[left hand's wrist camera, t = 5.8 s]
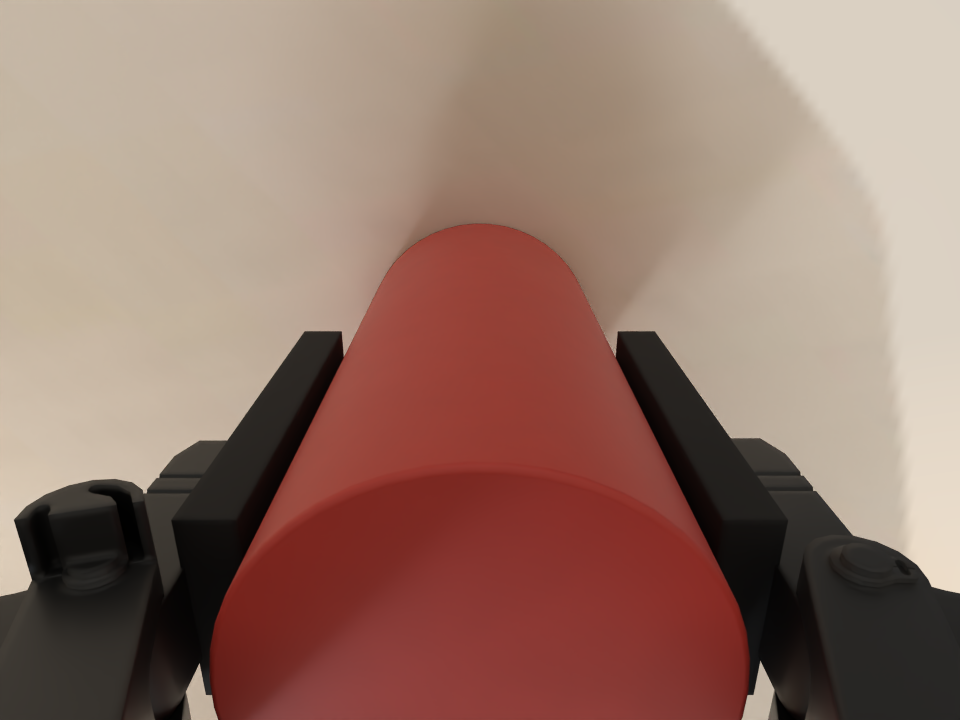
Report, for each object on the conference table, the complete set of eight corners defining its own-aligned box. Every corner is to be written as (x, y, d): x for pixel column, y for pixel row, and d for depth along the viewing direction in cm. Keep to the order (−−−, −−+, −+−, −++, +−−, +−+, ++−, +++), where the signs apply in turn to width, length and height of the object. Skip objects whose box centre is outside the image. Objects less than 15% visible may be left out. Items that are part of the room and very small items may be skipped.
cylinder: (590, 218, 17) (786, 454, 6) (586, 424, 19) (726, 869, 8) (360, 227, 17) (151, 477, 6) (382, 431, 19) (255, 882, 8)
